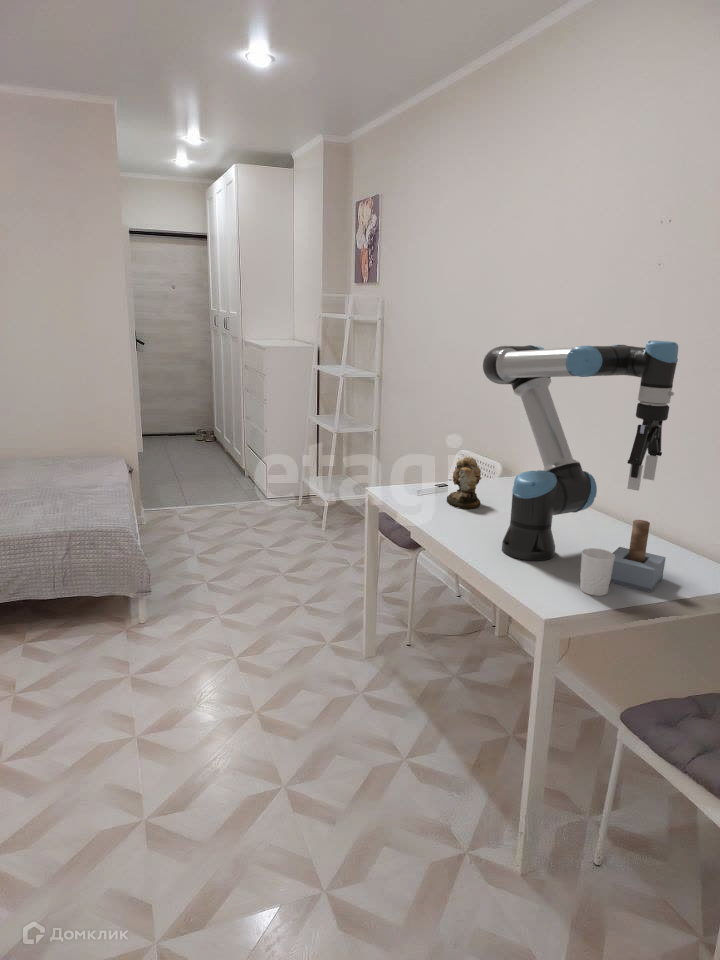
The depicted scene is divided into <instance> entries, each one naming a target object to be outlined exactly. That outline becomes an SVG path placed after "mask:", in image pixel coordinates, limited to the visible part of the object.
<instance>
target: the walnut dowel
mask: <svg viewBox="0 0 720 960" xmlns="http://www.w3.org/2000/svg"><path fill="white" fill-rule="evenodd" d="M649 530H650V522H649V521H648V520H644V519H634V520H633V521H632V528H631V535H630V542H629V548H628V549H629V556H628V560H632V561H636V562H640V563H644V560H645V553H647V552H646V551H647V546H648V540H649V539H648V538H649V532H650V531H649Z"/></svg>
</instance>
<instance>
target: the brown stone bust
mask: <svg viewBox="0 0 720 960" xmlns="http://www.w3.org/2000/svg"><path fill="white" fill-rule="evenodd" d="M455 467H456V468H454V469H455V470H454V471H453V474H452V482H453V485H456V486H458V489H456V491H453V492H450V493H449V494H448V495H447V496H446V502H447V504H449V505H450V506H451V505H452V506H451V507H453V506H454V507H453V508H456V507H458V508H459V509H460V508H462V509H463V510H475V509H479V508H480V506H481V500H480V499H479V497H478V496H477V493H476V489H477V485H478V484H479V483H480V481H481V479H482V478H481V472H482V471H481V467H480V466H478V463H477V460H476V459H475V458H473V457H472V456H464V457H463V458H462V459H459V460H457V461H456V466H455ZM462 509H461V510H462Z"/></svg>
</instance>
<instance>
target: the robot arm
mask: <svg viewBox="0 0 720 960" xmlns="http://www.w3.org/2000/svg"><path fill="white" fill-rule="evenodd" d="M678 356H679V344H678V343H677V342H675V341H668V340H666V341H665V340H648V341H647V342H646V345H645V347H643V346H642V347H641V346H640V347H639V346H632V345H627V344H611V345H603V346H602V345H593V346H592V345H580V346H576V347H575V346H573V347H572V346H571V347H561V348H559V347H558V348H557V347H556V348H544V347H541V346H538V345H537V346H536V345H524V346H523V345H500V346H497V347H494V348H491V350H490V351H488V352H487V354H486V355H485V356H484V357H483V358H484V359H483V362H482V370H483V373H484V375H485V377H486V378H487V379H488V380H489V381H491V382H492V383H494V384H498V385H511V387H512V390H513V392H514V395H516V396H518V397H520V398H521V401H522V404H523V407H524V411H525V413H526V416H527V420H528V422H529V425H530V428H531V431H532V435H533V438H534V440H535V443H536V446H537V449H538V452H539V455H540V458H541V461H542V464H543V466H544V468H543V470H541V469H540V470H539V469H538V470H527V471H524V472H521V473H519V474H517V475H516V477H515V478H514V481H513V486H512V492H511V493H512V497H511V510H510V520H509V521H510V522H509V526H508V528H507V530H506V533H505V535H504V537H503V540H502V543H501V551H502V552H503V553H504V554H505V555H507V556H509V557H512V558H514V559H519V560H524V561H533V562H534V561H535V562H538V561H547V560H551V559H552V558H554V557H555V556H556V555H555V554H556V544H555V540H554V536H553V531H552V524H553V516H556V515H558V516H559V515H565V514H569V513H574V514H575V513H578V512H580V511H585V510H587V509H588V508H590V507H591V506H592V505H593V504H594V502H595V498H596V497H597V492H598V490H597V488H598V487H597V482H596V479H595V477H594V476H593V475H592V474H590V473H589V472H588V471H586V470H585V471H584V469H583V467H582V465H581V463H580V462H579V460H575V459H574V458H573V455H572V453H571V449H570V446H569V443H568V440H567V438H566V436H565V432H564V429H563V426H562V424H561V421H560V418H559V415H558V411H557V409H556V406H555V403H554V401H553V397H552V394H551V392H550V390H549V386H550V384H551V383H552V379H551V378H555V377H556V378H559V377H560V378H562V377H563V378H564V377H580V378H587V377H588V378H589V377H602V376H603V377H607V376H611V377H612V376H627V377H628V376H629V377H636V378H640V384H639V390H638V391H639V392H638V395H637V396H638V398H637V400H638V403H637V405H636V413H635V417H636V418H638V419H640V420H642V424H638V425H637V430H636V434H635V437H634V440H633V444H632V448H631V452H630V455H629V459H627V464H629V465H630V469H629V475H628V479H627V480H628V482H627V487H626V488H627V490H633V491H637V492H638V491H640V486H641V480H642V479H644V480H649V481H655V477H656V471H657V463H658V457H662V454H663V452H662V433H663V431H662V428H663V421H665V422H666V421H667V420H668V418H669V412H670V406H669V405H668V404H670V403H671V399H672V396H674V395H675V393H674V392H673V391H672V390H673V387H674V386H673V385H674V378H675V374H676V370H677V369H676V368H677V365H678V363H677V362H679V361H678V360H679V357H678ZM646 453H647V454H646ZM645 455H646V456H645ZM644 459H645V463H644V465H643V461H644ZM643 466H644V467H643ZM643 468H644V469H643ZM642 473H643V475H642ZM641 478H642V479H641Z"/></svg>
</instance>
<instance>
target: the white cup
mask: <svg viewBox="0 0 720 960" xmlns="http://www.w3.org/2000/svg"><path fill="white" fill-rule="evenodd" d="M580 558H581V559H580V572H579V573H580V576H579V577H580V578H579V579H580V585H579V589H580V591H581V592H582V593H585V594H587V595H590V596H597V597H603V596H606V595H608V593H609V588H610V587H609V586H610V584H611V582H610V580H611V575H612V571H613V565H614V560H615V555H614V554H613V552H611V551H609V550H605V549H601V548H592V547H591V548H585V549H582V550H581V557H580Z"/></svg>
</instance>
